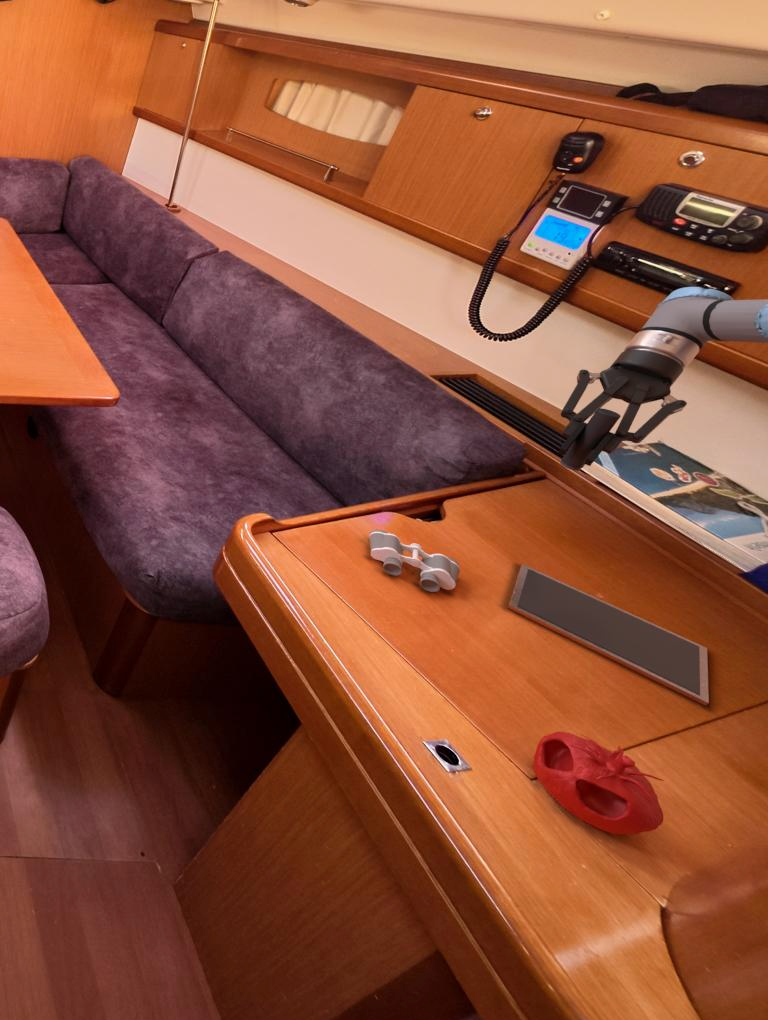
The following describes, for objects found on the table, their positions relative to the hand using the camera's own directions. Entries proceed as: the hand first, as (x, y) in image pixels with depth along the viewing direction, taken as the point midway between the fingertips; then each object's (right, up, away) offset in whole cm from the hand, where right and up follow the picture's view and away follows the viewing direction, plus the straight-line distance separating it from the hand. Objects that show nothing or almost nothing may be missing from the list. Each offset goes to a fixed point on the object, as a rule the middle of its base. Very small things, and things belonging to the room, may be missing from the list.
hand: (574, 457), depth 116 cm
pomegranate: (-48, -34, -39) cm, 71 cm away
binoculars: (-39, -18, -8) cm, 44 cm away
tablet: (-18, -24, -18) cm, 34 cm away
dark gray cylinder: (+3, -3, +3) cm, 5 cm away
